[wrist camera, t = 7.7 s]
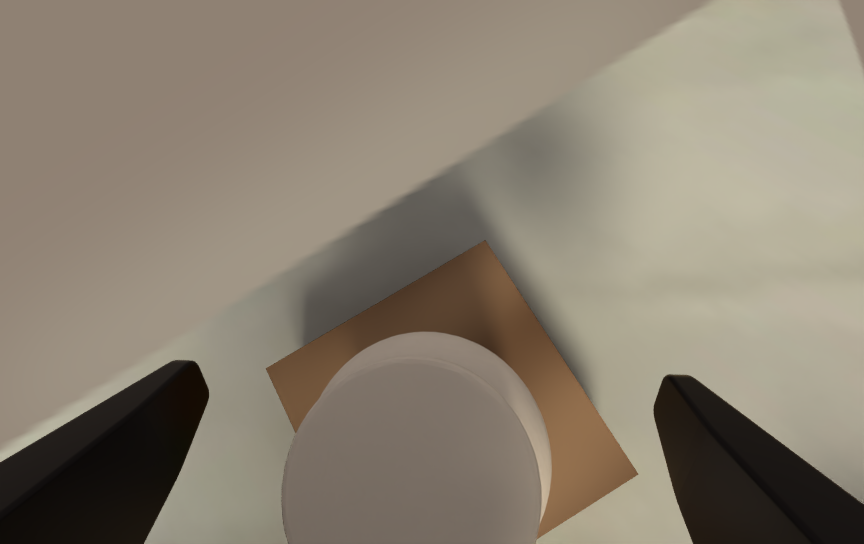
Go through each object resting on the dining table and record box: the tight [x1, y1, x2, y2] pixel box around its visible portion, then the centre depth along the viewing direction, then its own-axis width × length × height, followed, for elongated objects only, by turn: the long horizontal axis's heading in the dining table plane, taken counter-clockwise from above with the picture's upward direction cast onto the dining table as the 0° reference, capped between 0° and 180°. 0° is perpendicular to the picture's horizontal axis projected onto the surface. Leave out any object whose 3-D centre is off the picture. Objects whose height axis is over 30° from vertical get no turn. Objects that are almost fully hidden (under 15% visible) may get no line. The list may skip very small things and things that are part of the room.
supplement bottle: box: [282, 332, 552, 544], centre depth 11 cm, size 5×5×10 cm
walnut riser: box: [266, 241, 638, 539], centre depth 18 cm, size 10×10×4 cm
